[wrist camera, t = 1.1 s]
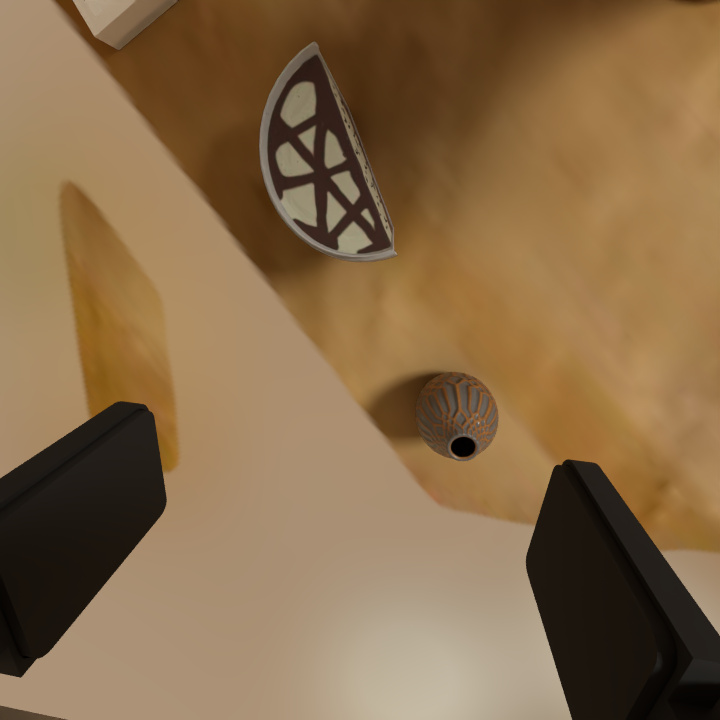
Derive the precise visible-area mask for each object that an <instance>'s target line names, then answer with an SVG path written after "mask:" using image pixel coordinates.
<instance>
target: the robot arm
mask: <svg viewBox="0 0 720 720" xmlns="http://www.w3.org/2000/svg"><path fill="white" fill-rule="evenodd" d="M166 500H167V499H166V492H165V485H164V478H163V472H162V465H161V459H160V452H159V445H158V439H157V432H156V426H155V419H154V415H153V413H152V412H150V411H149V410H148V408H147V406H146V405H144V404H138V403H130V402H123V401H120V402H116V403H114V404H113V405H111V406H110V407H108V408H107V409H105V410H104V411H102V412H101V413H99V414H98V415H96V416H95V417H93V418H91V419H90V420H88V421H87V422H85V423H84V424H82V425H81V426H79V427H78V428H76V429H75V430H73V431H72V432H70V433H69V434H67V435H66V436H64V437H63V438H61V439H59V440H58V441H57V442H55V443H53V444H52V445H51V446H49V447H47V448H46V449H44V450H43V451H41V452H40V453H38V454H37V455H35V456H34V457H32V458H31V459H29V460H27V461H26V462H24V463H23V464H21V465H20V466H18V467H17V468H15V469H14V470H12V471H11V472H9V473H8V474H6V475H5V476H3V477H2V478H0V673H2V674H6V675H11V676H16V677H22V676H23V675H24V673H25V672H26V671H27V670H28V668H29V667H30V666H31V665H32V664H33V663H34V661H35V660H36V659H37V658H41V657H43V656H44V655H46V654H47V653H48V652H49V651H50V650H51V649H52V648H53V647H54V645H55V644H56V643H57V642H58V641H59V639H60V638H61V637H62V636H63V634H64V633H65V632H66V631H67V630H68V628H69V627H70V626H71V625H72V623H73V622H74V621H75V620H76V619H77V617H78V616H79V615H80V614H81V613H82V611H83V610H84V609H85V608H86V606H87V605H88V604H89V603H90V602H91V600H92V599H93V598H94V597H95V595H96V594H97V593H98V592H99V591H100V589H101V588H102V587H103V586H104V584H105V583H106V582H107V581H108V580H109V578H110V577H111V576H112V575H113V573H114V572H115V571H116V570H117V569H118V567H119V566H120V565H121V564H122V563H123V561H124V560H125V559H126V558H127V556H128V555H129V554H130V553H131V552H132V550H133V549H134V548H135V547H136V545H137V544H138V543H139V542H140V541H141V539H142V538H143V537H144V536H145V534H146V533H147V532H148V531H149V530H150V528H151V527H152V526H153V525H154V524H155V522H156V521H157V520H158V518H159V517H160V516H161V515H162V513H163V511H164V509H165V506H166V502H167V501H166ZM526 569H527V573H528V577H529V580H530V584H531V587H532V590H533V593H534V597H535V600H536V603H537V606H538V610H539V613H540V616H541V619H542V623H543V626H544V629H545V632H546V636H547V639H548V642H549V645H550V649H551V652H552V655H553V658H554V661H555V665H556V668H557V671H558V675H559V678H560V681H561V684H562V688H563V691H564V694H565V698H566V701H567V704H568V707H569V711H570V714H571V717H572V720H720V636H719V634H718V633H717V631H716V630H715V629H714V627H713V626H712V624H711V623H710V622H709V620H708V619H707V617H706V616H705V614H704V613H703V612H702V610H701V609H700V608H699V606H698V605H697V603H696V602H695V600H694V599H693V598H692V596H691V595H690V593H689V592H688V591H687V589H686V588H685V586H684V585H683V584H682V582H681V581H680V579H679V578H678V577H677V575H676V574H675V572H674V571H673V569H672V568H671V567H670V565H669V564H668V562H667V561H666V560H665V558H664V557H663V555H662V554H661V552H660V551H659V550H658V548H657V547H656V545H655V544H654V543H653V541H652V540H651V538H650V537H649V536H648V534H647V533H646V531H645V530H644V529H643V527H642V526H641V524H640V523H639V522H638V520H637V519H636V517H635V516H634V514H633V513H632V512H631V510H630V509H629V507H628V506H627V505H626V503H625V502H624V500H623V499H622V498H621V496H620V495H619V493H618V492H617V491H616V489H615V488H614V486H613V485H612V483H611V482H610V481H609V479H608V478H607V476H606V475H605V474H604V472H603V471H602V469H601V468H600V467H599V466H598V465H597V464H596V463H592V462H584V461H576V460H565V461H564V462H563V464H562V465H556V466H555V467H554V469H553V472H552V475H551V478H550V481H549V485H548V488H547V491H546V494H545V497H544V501H543V504H542V507H541V510H540V514H539V517H538V520H537V523H536V526H535V530H534V533H533V536H532V539H531V543H530V546H529V549H528V552H527V556H526ZM0 720H65V719H61V718H56V717H51V716H47V715H42V714H37V713H32V712H28V711H23V710H18V709H13V708H8V707H4V706H0Z"/></svg>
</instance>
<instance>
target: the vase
mask: <svg viewBox="0 0 720 720" xmlns="http://www.w3.org/2000/svg"><path fill="white" fill-rule="evenodd" d="M415 418H416V424H417V428H418V430H419V433H420V435H421V436H422V438H423V440H424V441H425V442H426V444H427V445H428V446H429V447H430V448H431V449H433V450H434V451H435V452H437V453H438V454H440V455H442V456H445V457H448V458H452V459H455V460H458V461H468V460H471V459H473V458H474V457H475V456H476V455H478V454H479V453H481V452H482V451H484V450H485V449H486V448H487V447H488V446H489V445H490V443H491V442H492V440H493V439H494V437H495V434H496V431H497V427H498V409H497V406H496V403H495V400H494V398H493V396H492V394H491V393H490V391H489V390H488V388H487V387H486V386H485V385H484V384H483V383H482V382H480V381H479V380H478V379H476V378H474V377H472V376H470V375H468V374H464V373H459V372H450V373H444V374H441V375H439V376H436V377H435V378H433V379H432V380H430V381H429V382H428V383H427V384H426V385H425V386H424V387H423V389H422V390H421V392H420V394H419V396H418V399H417V402H416V408H415Z"/></svg>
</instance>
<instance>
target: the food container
mask: <svg viewBox="0 0 720 720" xmlns="http://www.w3.org/2000/svg"><path fill="white" fill-rule="evenodd" d="M259 156H260V166H261V171H262V175H263V180H264V184H265V186H266V189H267V192H268V194H269V197H270V199H271V201H272V203H273V205H274V207H275V209H276V211H277V212H278V214H279V215H280V217H281V218H282V219H283V221H284V222H285V223H286V225H287V226H288V227H289V228H290V229H291V230H292V231H293V232H294V233H295V234H296V235H297V236H298V237H299V238H300V239H302V240H303V241H304V242H306V243H307V244H308V245H310V246H311V247H312V248H314V249H316V250H318V251H320V252H322V253H324V254H326V255H328V256H331V257H334V258H337V259H340V260H345V261H351V262H374V261H380V260H386V259H389V258H392V257H395V256H398V255H397V253H396V252H395V251H394V227H393V224H392V222H391V219H390V216H389V214H388V211H387V208H386V206H385V203H384V200H383V198H382V195H381V192H380V189H379V187H378V184H377V181H376V179H375V176H374V173H373V171H372V168H371V165H370V163H369V160H368V157H367V155H366V152H365V149H364V146H363V144H362V141H361V138H360V136H359V133H358V130H357V128H356V125H355V122H354V120H353V117H352V114H351V112H350V109H349V107H348V105H347V103H346V101H345V99H344V97H343V95H342V94H341V92H340V90H339V88H338V86H337V84H336V82H335V80H334V78H333V76H332V74H331V72H330V71H329V69H328V67H327V65H326V63H325V61H324V59H323V57H322V55H321V53H320V51H319V46H318V44H317V43H316V42H315V41H314V42H312V43H311V44H309V45H308V46H307V47H305V48H304V49H303V50H301V51H300V52H299V53H298V54H297V55H296V56H295V57H294V58H293V59H292V60H291V61H290V62H289V63H288V64H287V66H286V67H285V69H284V70H283V71H282V73H281V74H280V76H279V77H278V78H277V80H276V82H275V84H274V86H273V88H272V90H271V92H270V94H269V97H268V100H267V102H266V105H265V108H264V111H263V116H262V121H261V126H260V136H259Z"/></svg>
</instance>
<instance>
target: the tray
mask: <svg viewBox="0 0 720 720" xmlns="http://www.w3.org/2000/svg"><path fill="white" fill-rule="evenodd" d="M177 1H179V0H73V2H74V3H75V5H76V7H77V8H78V10H79V12H80V13H81V15H82V17H83V18H84V20H85V22H86V23H87V25H88V27H89V28H90V30H91V32H92V34H93V35H94V37H96V38H97V39H99V40H101V41H103V42H105V43H106V44H108V45H110V46H112V47H114V48H115V49H117V50H120V49H121V48H123V47H124V46H125V45H126V44H127V43H129V42H130V41H131V40H132V39H133V38H134V37H136V36H137V35H138V34H139V33H140V32H142V31H143V30H144V29H145V28H146V27H148V26H149V25H150V24H151V23H152V22H154V21H155V20H156V19H157V18H158V17H159V16H161V15H162V14H163V13H164V12H165V11H167V10H168V9H169V8H170V7H171V6H173V5H174V4H175V3H176V2H177Z"/></svg>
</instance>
